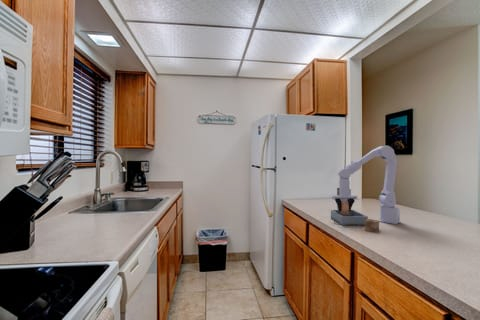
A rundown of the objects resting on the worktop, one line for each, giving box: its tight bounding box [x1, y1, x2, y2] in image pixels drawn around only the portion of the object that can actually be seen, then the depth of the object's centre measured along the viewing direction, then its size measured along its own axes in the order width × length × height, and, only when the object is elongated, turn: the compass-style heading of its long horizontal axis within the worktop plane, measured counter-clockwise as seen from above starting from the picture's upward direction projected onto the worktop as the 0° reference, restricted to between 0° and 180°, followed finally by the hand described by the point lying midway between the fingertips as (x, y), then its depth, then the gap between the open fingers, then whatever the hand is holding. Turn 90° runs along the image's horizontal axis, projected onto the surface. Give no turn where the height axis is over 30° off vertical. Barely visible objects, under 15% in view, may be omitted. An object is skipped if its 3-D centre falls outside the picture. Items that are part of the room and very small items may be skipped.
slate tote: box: [330, 209, 369, 227], centre depth 144 cm, size 18×14×5 cm
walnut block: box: [364, 218, 380, 233], centre depth 126 cm, size 5×5×5 cm
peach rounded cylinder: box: [340, 202, 349, 215], centre depth 148 cm, size 5×5×7 cm
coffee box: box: [336, 187, 352, 210], centre depth 172 cm, size 9×6×16 cm
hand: (344, 211), depth 148 cm, fingers closed on peach rounded cylinder, 5 cm apart
